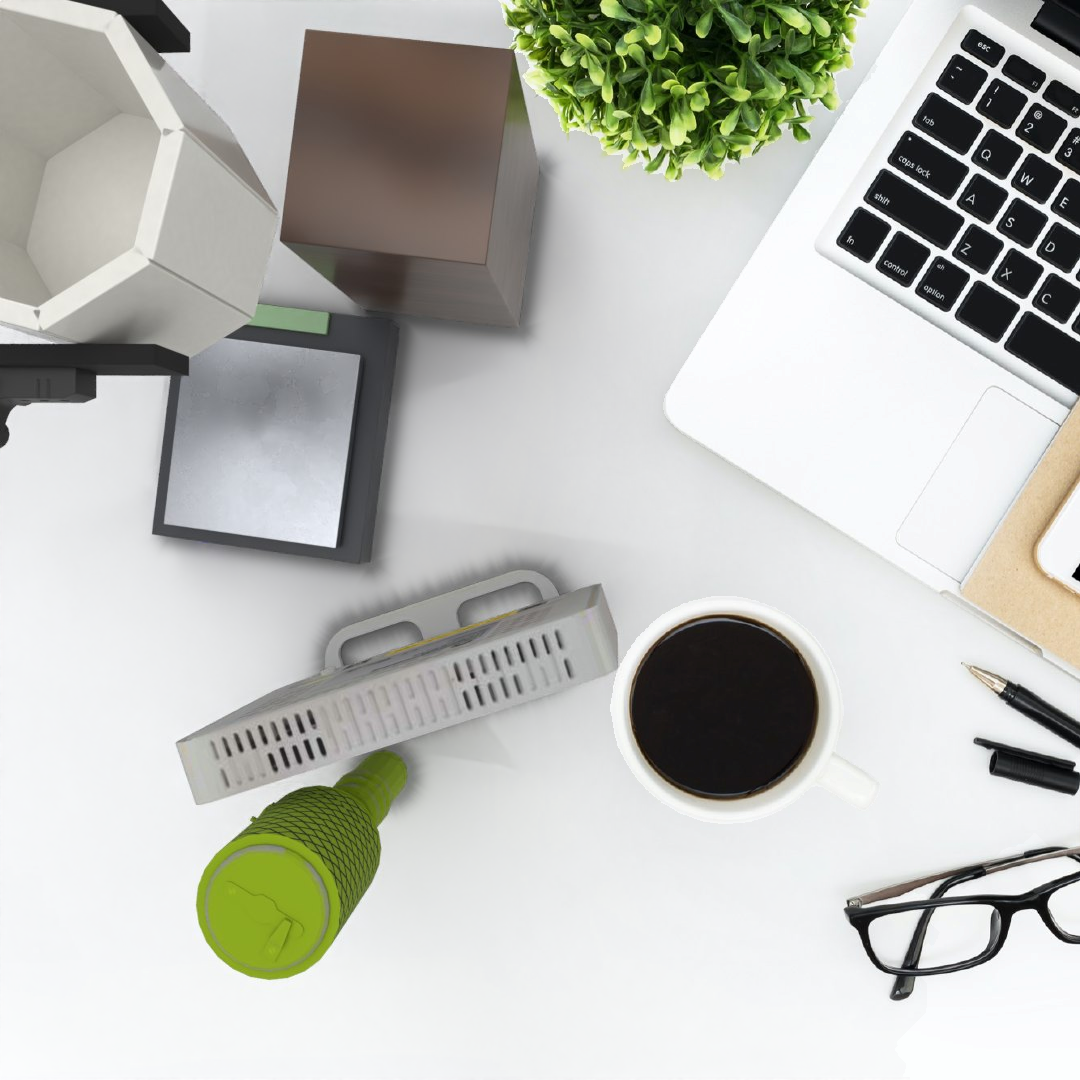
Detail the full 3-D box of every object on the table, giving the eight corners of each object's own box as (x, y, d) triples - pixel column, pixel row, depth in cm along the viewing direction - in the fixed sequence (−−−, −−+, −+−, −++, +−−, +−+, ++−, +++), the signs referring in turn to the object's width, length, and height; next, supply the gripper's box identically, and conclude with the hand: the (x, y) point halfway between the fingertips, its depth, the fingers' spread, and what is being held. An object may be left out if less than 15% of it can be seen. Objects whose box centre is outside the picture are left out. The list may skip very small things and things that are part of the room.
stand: (383, 151, 71) (305, 28, 53) (540, 168, 70) (514, 48, 52) (363, 309, 71) (278, 241, 53) (518, 328, 70) (485, 265, 52)
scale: (198, 302, 72) (177, 292, 69) (400, 327, 71) (389, 318, 67) (170, 533, 73) (148, 534, 69) (370, 562, 72) (358, 564, 68)
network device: (312, 755, 72) (198, 848, 52) (277, 649, 72) (148, 701, 52) (626, 655, 70) (631, 712, 50) (589, 545, 70) (580, 558, 50)
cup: (60, 83, 41) (-96, -41, 32) (299, 142, 40) (209, 33, 31) (0, 328, 41) (-170, 276, 32) (235, 391, 40) (128, 355, 31)
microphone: (450, 756, 71) (363, 887, 47) (402, 840, 72) (291, 1014, 47) (360, 703, 72) (226, 805, 47) (313, 787, 72) (156, 932, 47)
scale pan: (192, 335, 69) (186, 333, 68) (364, 357, 68) (360, 354, 67) (169, 523, 69) (163, 524, 68) (339, 548, 68) (335, 548, 67)
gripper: (-275, -54, 40) (217, -71, 38) (-269, 507, 41) (214, 514, 39) (-479, -186, 32) (121, -214, 31) (-469, 506, 33) (120, 514, 31)
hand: (174, 193), depth 35 cm, fingers closed on cup, 12 cm apart
